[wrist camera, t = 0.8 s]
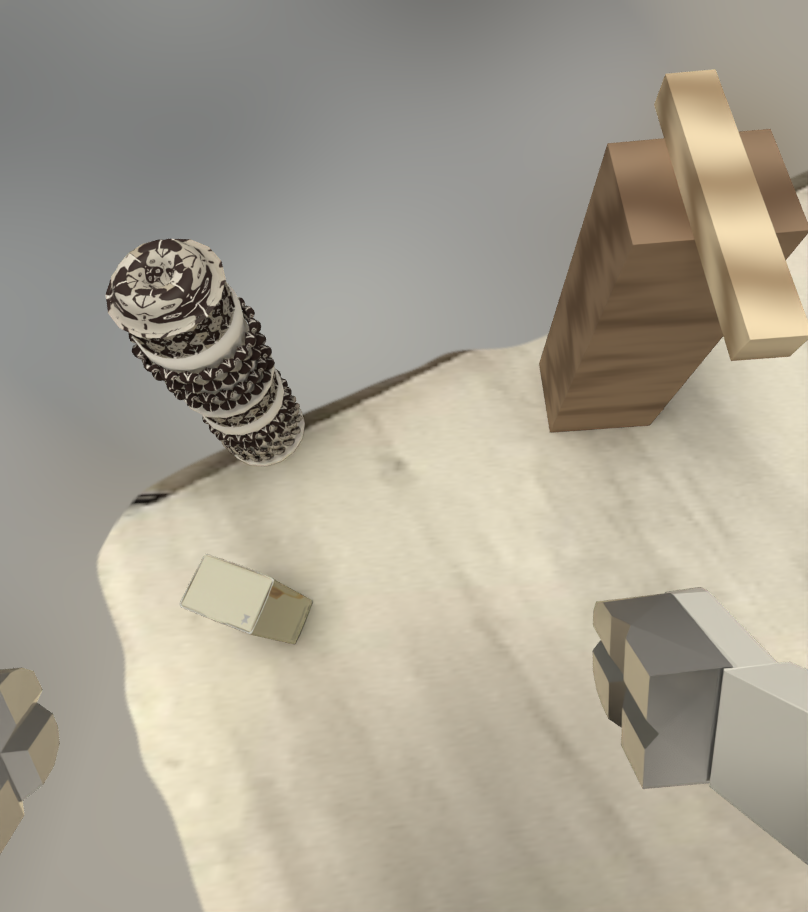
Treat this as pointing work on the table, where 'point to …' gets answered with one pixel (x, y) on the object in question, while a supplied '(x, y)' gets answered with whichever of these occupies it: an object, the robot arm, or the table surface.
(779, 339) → the slat
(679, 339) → the pedestal
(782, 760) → the robot arm
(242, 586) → the skincare box
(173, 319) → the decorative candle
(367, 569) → the table surface
